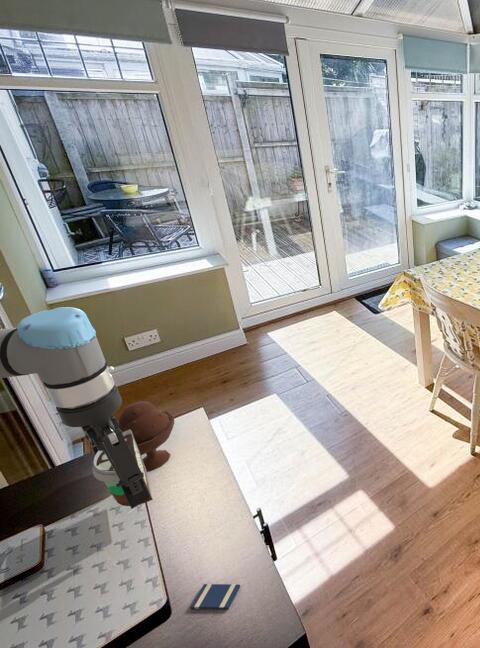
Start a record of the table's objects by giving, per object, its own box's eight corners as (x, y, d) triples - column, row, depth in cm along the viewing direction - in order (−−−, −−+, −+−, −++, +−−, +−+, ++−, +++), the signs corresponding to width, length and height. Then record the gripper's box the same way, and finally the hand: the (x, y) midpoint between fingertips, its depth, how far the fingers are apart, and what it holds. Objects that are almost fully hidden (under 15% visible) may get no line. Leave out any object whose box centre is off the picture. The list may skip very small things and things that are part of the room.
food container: (104, 481, 81) (87, 443, 77) (144, 464, 85) (130, 427, 81) (110, 526, 74) (91, 487, 70) (153, 504, 78) (138, 466, 74)
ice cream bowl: (109, 476, 88) (83, 422, 82) (160, 437, 98) (140, 387, 92) (148, 487, 86) (124, 434, 80) (196, 446, 96) (178, 396, 90)
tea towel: (191, 609, 67) (190, 606, 67) (204, 585, 70) (203, 583, 70) (228, 609, 67) (227, 607, 67) (240, 586, 70) (239, 584, 70)
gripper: (143, 411, 67) (178, 503, 75) (90, 358, 78) (125, 443, 87) (81, 441, 61) (127, 536, 69) (33, 379, 72) (77, 467, 81)
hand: (126, 484), depth 78 cm, fingers closed on food container, 12 cm apart
